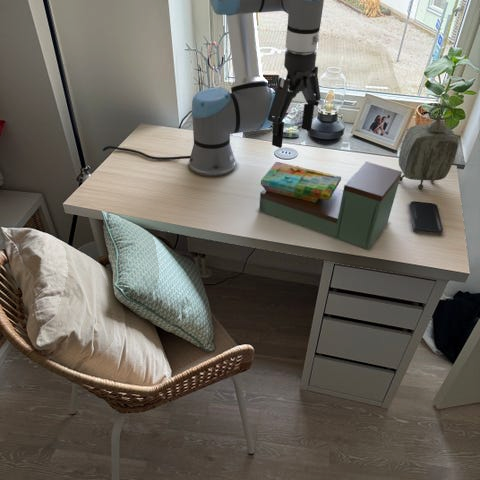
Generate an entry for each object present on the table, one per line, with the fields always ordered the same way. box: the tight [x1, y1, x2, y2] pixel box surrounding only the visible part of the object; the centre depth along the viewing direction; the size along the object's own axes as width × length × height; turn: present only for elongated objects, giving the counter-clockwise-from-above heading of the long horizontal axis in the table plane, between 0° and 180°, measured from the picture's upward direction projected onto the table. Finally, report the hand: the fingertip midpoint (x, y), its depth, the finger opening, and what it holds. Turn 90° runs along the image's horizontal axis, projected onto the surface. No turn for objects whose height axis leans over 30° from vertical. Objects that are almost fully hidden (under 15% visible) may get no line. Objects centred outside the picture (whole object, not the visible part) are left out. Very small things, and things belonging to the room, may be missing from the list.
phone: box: [409, 200, 444, 236], centre depth 135 cm, size 8×1×15 cm
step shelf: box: [258, 161, 403, 250], centre depth 130 cm, size 34×15×16 cm, turn 58°
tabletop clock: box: [398, 104, 460, 190], centre depth 140 cm, size 14×9×25 cm, turn 91°
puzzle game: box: [260, 161, 342, 202], centre depth 132 cm, size 12×5×20 cm
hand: (291, 137), depth 125 cm, fingers open, 13 cm apart
